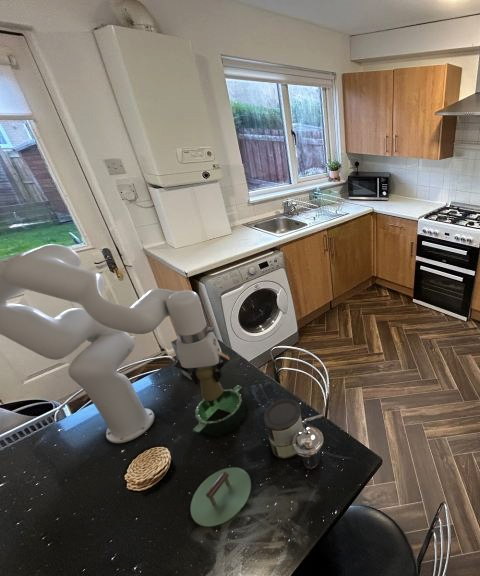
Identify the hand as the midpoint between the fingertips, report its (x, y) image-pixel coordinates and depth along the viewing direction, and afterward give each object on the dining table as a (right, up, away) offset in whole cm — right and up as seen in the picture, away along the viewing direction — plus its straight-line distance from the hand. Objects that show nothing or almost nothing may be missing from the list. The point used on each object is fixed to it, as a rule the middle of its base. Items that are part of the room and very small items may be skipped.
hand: (208, 379), depth 96 cm
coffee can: (+25, -21, +1) cm, 32 cm away
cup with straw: (+33, -23, -4) cm, 41 cm away
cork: (0, -5, +3) cm, 6 cm away
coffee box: (-20, -5, +28) cm, 35 cm away
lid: (+11, -27, -13) cm, 32 cm away
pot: (0, -16, +9) cm, 18 cm away
